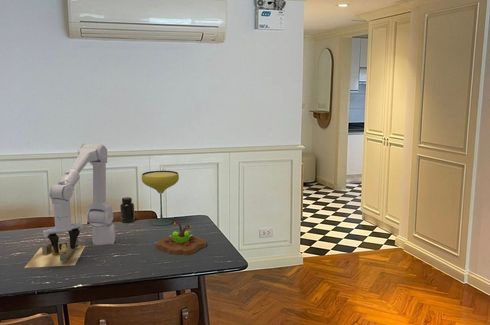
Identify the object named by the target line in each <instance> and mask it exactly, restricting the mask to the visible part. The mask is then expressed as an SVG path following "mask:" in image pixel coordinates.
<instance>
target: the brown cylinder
mask: <svg viewBox="0 0 490 325" xmlns="http://www.w3.org/2000/svg"><path fill="white" fill-rule="evenodd" d="M58 248H59V245H58ZM52 255H54V256H57V255H60V254H59V253H55V252H54V248H53V246H52Z"/></svg>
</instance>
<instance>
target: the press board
mask: <svg viewBox="0 0 490 325" xmlns="http://www.w3.org/2000/svg"><path fill="white" fill-rule="evenodd" d="M85 248H86V245H78V247H76V248H75V249H74V250H73V252H72V253H71V255H70V256H69V257H68V259H67V260H66V261H60V255H57V256H54V255H52V253H51V254H49V255H47V256H46V255H43V254H42V247H40V248H39V249H38V250H37V252H36V253H35V254H34V256H32V258H31V259H30V260H29V261H28V262H27V264H26V265H25V266H24V269H31V268H47V267H67V266H75V265H77V262H78V260H79V259H80V256H81V255H82V253H83V251H84V249H85Z"/></svg>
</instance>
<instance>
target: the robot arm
mask: <svg viewBox="0 0 490 325" xmlns="http://www.w3.org/2000/svg"><path fill="white" fill-rule="evenodd" d="M88 163H89V164H90V165H91V166H92V202H91V204H89V206H88V207H87V213H86V219H87V222H88V223H89V226H91V238H92V244H93V245H94V246H103V245H104V246H105V245H114V244H115V242H116V228H115V224H114V223H112V222H113V220H114V212H113V206H112V205H111V204H109V203H108V202H107V192H106V190H107V182H106V181H107V180H106V178H107V177H106V176H107V168H106V167H107V166H106V165H107V164H108V149H107V146H106V145H104V144H90V143H89V144H87V143H82V144H81V145H80V146H79V148H78V150H77V157H76V159H75V161H74V163H73V165H72V166H71V168H70V169H69V168H68V169H66V170H65V171H64V173H63V174H62V175H61V177H60V179H59V180H58V182H57V183H54V184H53V185H52V186H51V187H50V189H49V193H48V194H49V195H48V196H49V198H50V199H51V203H52V205H53V216H54V227H51V228H48V229H44V230H43V231H42V236H43V237H45V238H46V237H47V238H48V240H49V242H51V243H52V245H53V248H54V252H55V253H59V248H58V243H59V240H60V239H59V238H60V237H59V236H58V235H57V234H60V233H66V232H68V237H69V239H70V248H71V249H75V244H76V240H77V238H78V237H79V235H80V233H81V229H83V228H84V227H83V226H84V224H83V223H81V222H78V223H72V220H71V218H72V217H71V216H72V215H71V198H73V195H74V191H75V190H74V189H75V188H74V187H75V186H76V184H77V183H78V181H79V180H80V178H81V176H80V174H81V172H82V170H83V169H84V168H85V167H86V166H87V165H88ZM83 230H84V229H83Z"/></svg>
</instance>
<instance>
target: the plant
mask: <svg viewBox="0 0 490 325" xmlns="http://www.w3.org/2000/svg"><path fill="white" fill-rule="evenodd" d="M173 225H174V226H176V225H178V227H179V231H176V230H174V231H173V232H172V233H171V234H172V235H169V236H166V237H164V238H161V239H160V240H159V241H157V242H155V244H154V248H155V250H159V251H161V252H164V253H167V254H168V255H175V256H178V255H184V256H188V255H193V254H195V253H196V252H198V251H200V250H201V249H204V248H206V247H207V240H206V238H202V237H200V236H196V235H195V236H194V235H193V234H190V233H191V232H192V231H191V228H192V226H191V224H190V225H189V224H187V225H185V226H184V228H183V227H182V225H181V223H180V221H174V223H173Z"/></svg>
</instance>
